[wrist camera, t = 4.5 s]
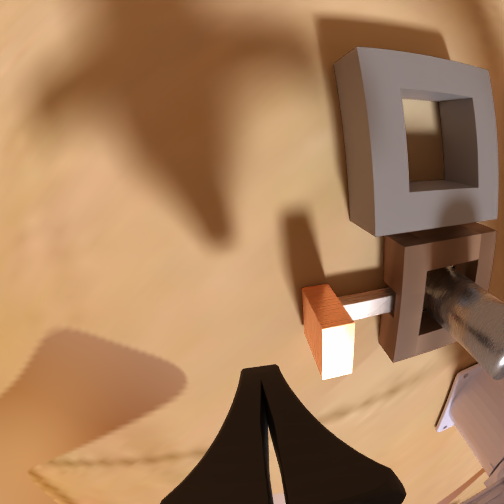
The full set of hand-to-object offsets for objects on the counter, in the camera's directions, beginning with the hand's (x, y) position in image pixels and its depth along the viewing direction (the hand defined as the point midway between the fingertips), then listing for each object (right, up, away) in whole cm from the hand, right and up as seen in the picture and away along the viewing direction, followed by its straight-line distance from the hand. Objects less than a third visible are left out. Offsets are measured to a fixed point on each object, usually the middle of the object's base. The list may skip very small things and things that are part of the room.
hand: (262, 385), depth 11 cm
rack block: (+8, +11, +3) cm, 14 cm away
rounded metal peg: (+11, +3, +5) cm, 12 cm away
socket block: (+11, +3, +5) cm, 12 cm away
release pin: (+5, +2, +5) cm, 8 cm away
